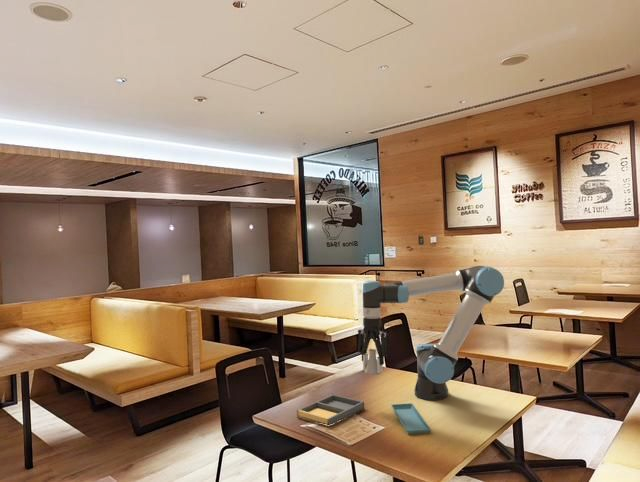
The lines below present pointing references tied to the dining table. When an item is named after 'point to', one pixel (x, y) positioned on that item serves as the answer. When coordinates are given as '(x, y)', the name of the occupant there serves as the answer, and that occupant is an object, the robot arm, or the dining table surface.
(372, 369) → the flask
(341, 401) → the caddy
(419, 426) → the shallow long dish
